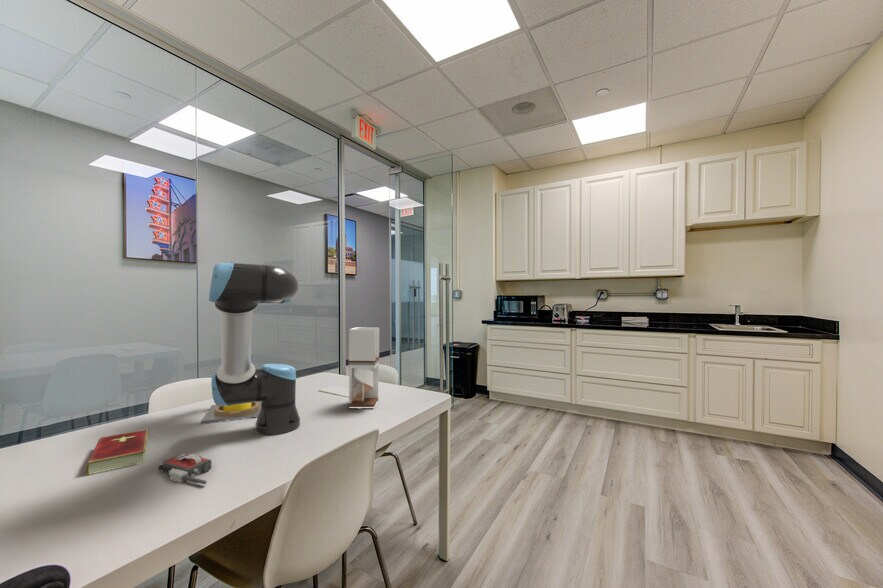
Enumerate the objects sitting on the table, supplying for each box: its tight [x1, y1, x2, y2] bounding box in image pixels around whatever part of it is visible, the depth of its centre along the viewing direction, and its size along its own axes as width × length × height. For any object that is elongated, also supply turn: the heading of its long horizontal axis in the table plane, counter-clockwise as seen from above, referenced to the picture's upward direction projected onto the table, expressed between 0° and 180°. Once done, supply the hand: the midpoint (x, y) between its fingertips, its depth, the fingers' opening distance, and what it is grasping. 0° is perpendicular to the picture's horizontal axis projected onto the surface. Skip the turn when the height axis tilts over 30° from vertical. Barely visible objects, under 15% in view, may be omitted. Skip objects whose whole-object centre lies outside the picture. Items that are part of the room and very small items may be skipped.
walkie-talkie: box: [157, 453, 212, 485], centre depth 95 cm, size 9×4×20 cm
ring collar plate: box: [200, 401, 261, 425], centre depth 146 cm, size 22×22×2 cm
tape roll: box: [224, 403, 251, 411], centre depth 147 cm, size 10×10×9 cm
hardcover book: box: [85, 429, 149, 476], centre depth 105 cm, size 12×21×4 cm, turn 38°
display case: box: [347, 327, 380, 408], centre depth 158 cm, size 11×11×35 cm
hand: (239, 367), depth 147 cm, fingers open, 13 cm apart
